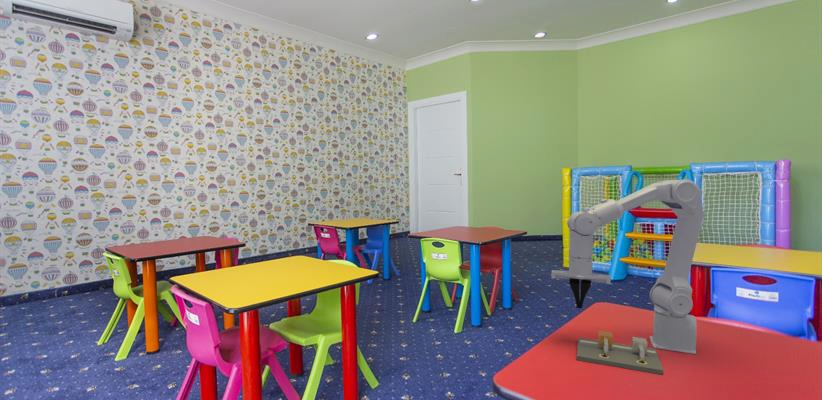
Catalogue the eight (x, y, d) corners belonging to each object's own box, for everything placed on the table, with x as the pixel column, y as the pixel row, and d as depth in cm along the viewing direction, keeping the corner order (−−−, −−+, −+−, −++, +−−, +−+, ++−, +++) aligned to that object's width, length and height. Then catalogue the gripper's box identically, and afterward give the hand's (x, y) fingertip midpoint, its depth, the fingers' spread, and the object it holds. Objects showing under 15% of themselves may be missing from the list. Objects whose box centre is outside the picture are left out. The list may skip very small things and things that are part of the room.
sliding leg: (611, 344, 105) (611, 332, 105) (612, 356, 98) (613, 343, 98) (598, 342, 107) (598, 330, 106) (599, 354, 99) (599, 341, 99)
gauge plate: (655, 352, 104) (655, 345, 104) (663, 374, 92) (663, 366, 92) (578, 341, 111) (578, 334, 111) (576, 359, 99) (576, 352, 99)
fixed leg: (645, 350, 102) (645, 338, 102) (649, 363, 95) (650, 350, 95) (631, 348, 104) (632, 336, 103) (634, 360, 96) (635, 348, 96)
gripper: (551, 257, 109) (549, 307, 110) (611, 262, 103) (609, 315, 104) (553, 253, 116) (551, 300, 116) (610, 257, 110) (608, 307, 110)
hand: (579, 307), depth 110 cm, fingers closed
